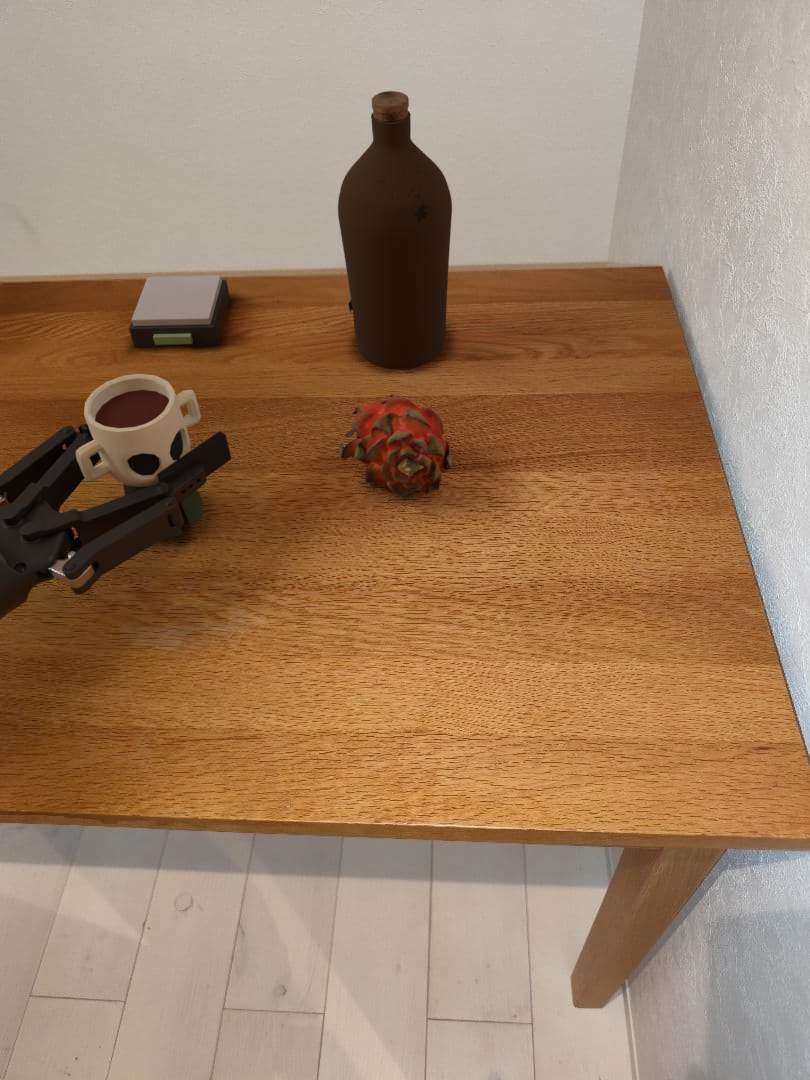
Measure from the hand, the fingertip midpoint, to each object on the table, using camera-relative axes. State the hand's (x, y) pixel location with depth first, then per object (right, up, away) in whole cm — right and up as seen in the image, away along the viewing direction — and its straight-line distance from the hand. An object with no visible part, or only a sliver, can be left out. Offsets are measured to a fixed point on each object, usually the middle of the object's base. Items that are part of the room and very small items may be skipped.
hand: (194, 425), depth 75 cm
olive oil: (+17, +11, +19) cm, 28 cm away
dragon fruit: (+17, -4, +6) cm, 18 cm away
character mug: (-3, -8, +3) cm, 9 cm away
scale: (-7, +14, +23) cm, 28 cm away
